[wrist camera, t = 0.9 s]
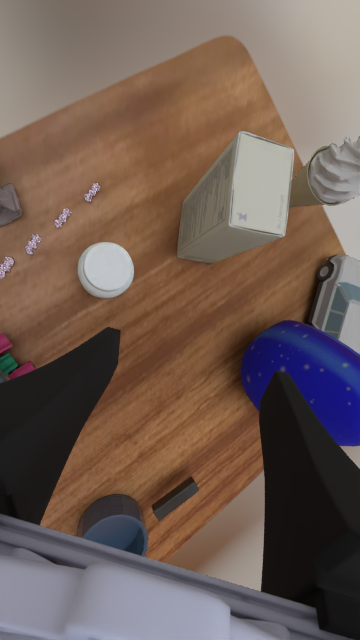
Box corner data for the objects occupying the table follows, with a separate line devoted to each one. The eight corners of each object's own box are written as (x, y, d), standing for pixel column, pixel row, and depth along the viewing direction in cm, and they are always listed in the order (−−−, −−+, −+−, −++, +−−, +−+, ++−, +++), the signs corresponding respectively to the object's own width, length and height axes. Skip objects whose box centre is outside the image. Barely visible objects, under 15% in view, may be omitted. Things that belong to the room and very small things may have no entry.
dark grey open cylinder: (98, 569, 29) (99, 598, 26) (64, 522, 28) (61, 548, 25) (153, 527, 31) (159, 550, 28) (123, 481, 29) (127, 500, 26)
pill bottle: (135, 273, 28) (151, 263, 21) (108, 307, 28) (114, 309, 20) (99, 242, 27) (102, 221, 20) (69, 278, 26) (61, 269, 19)
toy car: (355, 266, 36) (395, 263, 31) (326, 363, 36) (362, 374, 32) (320, 251, 34) (357, 246, 30) (291, 353, 35) (323, 364, 30)
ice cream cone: (285, 234, 33) (433, 184, 19) (249, 217, 32) (380, 148, 17) (297, 194, 33) (453, 114, 19) (262, 175, 32) (402, 72, 17)
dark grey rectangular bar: (156, 514, 28) (159, 521, 27) (151, 505, 28) (153, 512, 27) (196, 484, 30) (199, 490, 29) (191, 475, 29) (194, 481, 28)
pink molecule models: (-20, 306, 24) (-21, 306, 24) (-40, 289, 24) (-43, 290, 23) (107, 195, 27) (108, 193, 26) (91, 177, 26) (92, 175, 26)
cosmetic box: (212, 264, 31) (286, 242, 19) (173, 257, 29) (227, 229, 18) (219, 206, 30) (298, 147, 19) (180, 196, 29) (240, 127, 18)
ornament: (310, 375, 35) (460, 426, 21) (259, 427, 34) (384, 521, 19) (265, 305, 33) (401, 309, 18) (207, 357, 31) (306, 405, 17)
